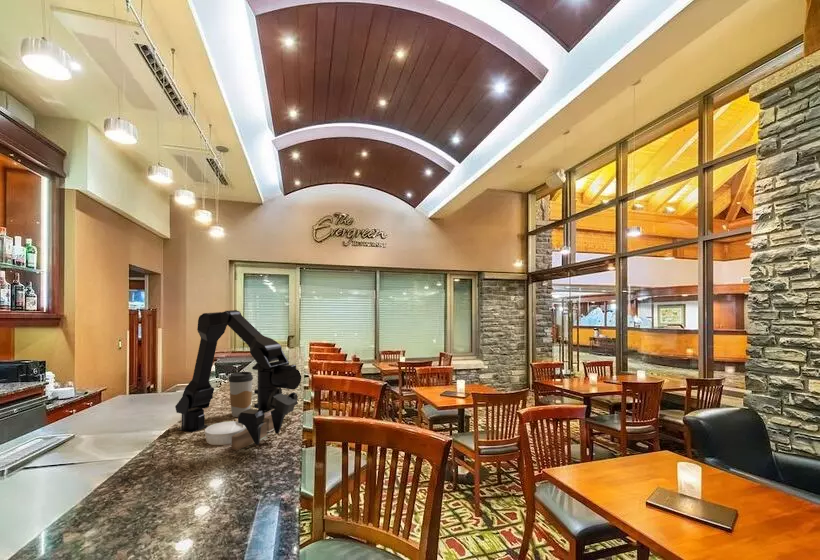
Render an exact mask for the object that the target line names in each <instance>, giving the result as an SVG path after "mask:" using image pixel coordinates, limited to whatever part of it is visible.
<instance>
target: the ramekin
mask: <svg viewBox="0 0 820 560" xmlns="http://www.w3.org/2000/svg"><path fill="white" fill-rule="evenodd" d="M244 430H246V429H245V426H244V425H242V424H241V423H238V421H236V420H235V421H233V420H232V421H221V422H216V423H214V424H211V425H208V426H207V427H205V428H204V435H205V440H206V443H207V444H209V445H214V446H222V445H224V446H225V445H232V436H234V435H236V434H238V433H240V432H242V431H244Z"/></svg>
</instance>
